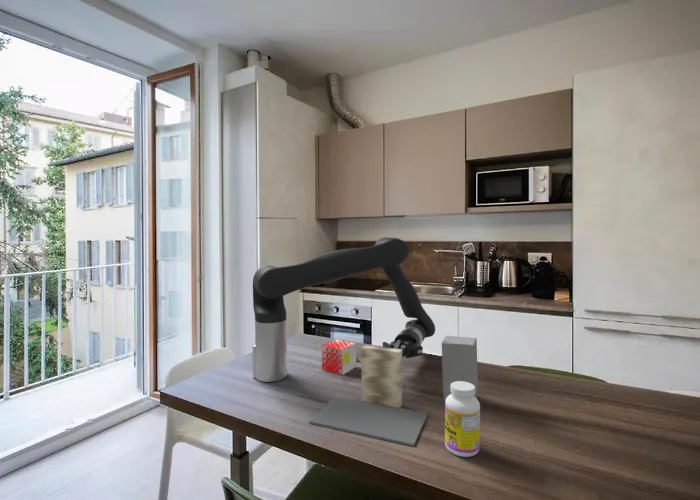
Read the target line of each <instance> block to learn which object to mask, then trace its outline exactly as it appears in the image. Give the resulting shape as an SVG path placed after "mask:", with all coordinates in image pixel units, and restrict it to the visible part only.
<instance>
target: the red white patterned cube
mask: <svg viewBox="0 0 700 500" xmlns="http://www.w3.org/2000/svg"><path fill="white" fill-rule="evenodd" d="M356 357H357V343H356V342H352V341H347V340H341V339H334V340H331V341H329V342H327V343H324V344H322V345H321V371H324V370H325V372H328V371H329V373H333V374H337V375H341V374H342V375H341V376H343V375H346V372H347V373H348V372H350V371H352V370H354V369H355V368H357V362H356ZM354 367H355V368H354ZM353 368H354V369H353ZM351 369H352V370H351ZM349 370H350V371H349Z"/></svg>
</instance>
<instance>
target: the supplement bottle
mask: <svg viewBox="0 0 700 500" xmlns="http://www.w3.org/2000/svg"><path fill="white" fill-rule="evenodd" d="M450 390H451V393H452V394H450V395H449V396H448V397H447V398H446V401H445V402H444V405H445V409H444V410H445V411H444V414H445V415H444V444H445V448H446V449H447V450H448V452H450V453H451V454H453V455H455V456H458V457H461V458H462V457H464V458H470V457H473V456H476V455H477V454H478V453H479V451H480V438H481V437H480V436H481V435H480V432H481V431H480V430H481V429H480V427H481V404H480V403H481V402H479V399H478V398H477V399H476V398H475V397H474V395H475V386H474V385H473V384H471V383H468V382H464V381H456V382H453V383H451V386H450Z"/></svg>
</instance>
